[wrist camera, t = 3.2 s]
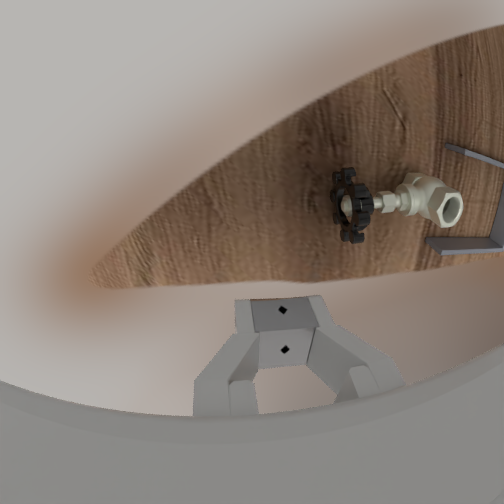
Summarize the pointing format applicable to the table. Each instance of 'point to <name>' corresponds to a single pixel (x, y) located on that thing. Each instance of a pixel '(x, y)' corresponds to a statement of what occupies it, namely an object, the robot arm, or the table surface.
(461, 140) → the table surface
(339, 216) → the valve
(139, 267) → the table surface
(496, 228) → the valve dock
